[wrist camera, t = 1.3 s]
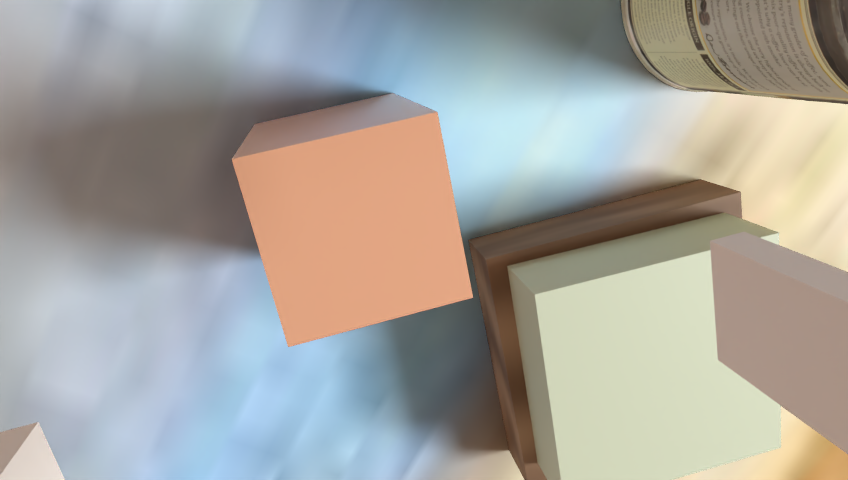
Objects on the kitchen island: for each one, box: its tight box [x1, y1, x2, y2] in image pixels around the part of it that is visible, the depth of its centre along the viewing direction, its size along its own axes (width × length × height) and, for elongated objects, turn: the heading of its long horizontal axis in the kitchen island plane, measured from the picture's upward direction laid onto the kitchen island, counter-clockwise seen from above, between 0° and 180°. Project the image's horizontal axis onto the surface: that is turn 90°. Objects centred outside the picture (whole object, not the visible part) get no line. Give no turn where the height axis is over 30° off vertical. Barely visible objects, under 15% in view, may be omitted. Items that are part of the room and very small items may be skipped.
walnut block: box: [468, 180, 742, 480], centre depth 36 cm, size 14×14×4 cm
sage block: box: [507, 213, 781, 480], centre depth 33 cm, size 12×12×4 cm
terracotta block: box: [232, 93, 473, 347], centre depth 27 cm, size 7×7×11 cm
